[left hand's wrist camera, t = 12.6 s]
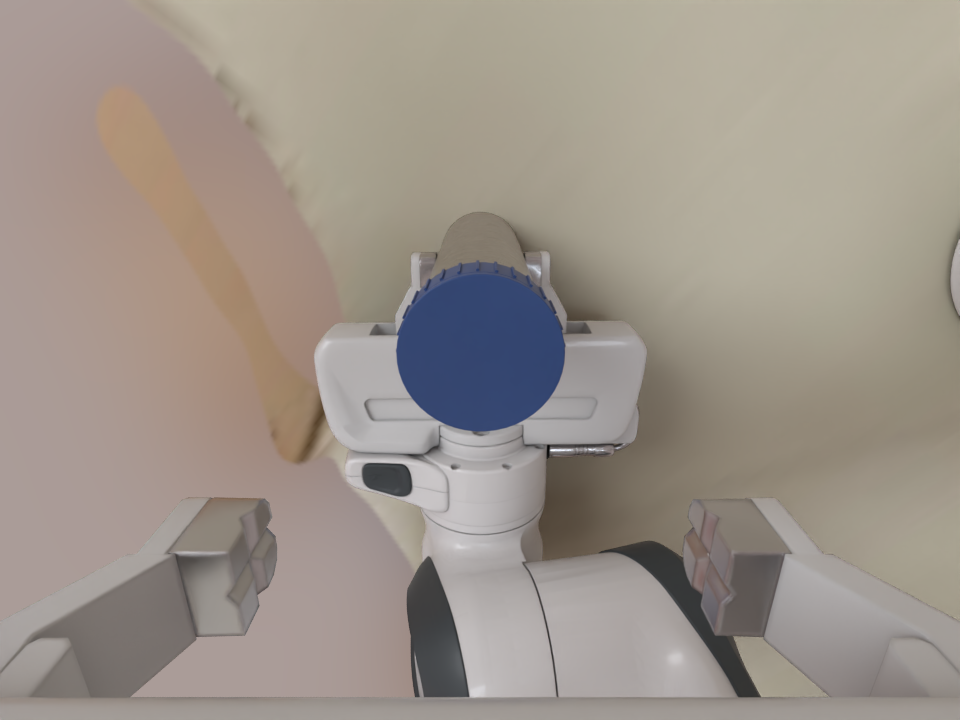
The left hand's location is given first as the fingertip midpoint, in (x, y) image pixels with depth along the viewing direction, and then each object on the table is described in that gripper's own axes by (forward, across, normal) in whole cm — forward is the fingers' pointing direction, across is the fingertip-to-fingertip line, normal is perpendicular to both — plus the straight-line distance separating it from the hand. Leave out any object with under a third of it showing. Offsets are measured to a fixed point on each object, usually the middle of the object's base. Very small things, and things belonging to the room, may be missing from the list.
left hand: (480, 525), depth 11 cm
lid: (+9, 0, 0) cm, 9 cm away
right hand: (+24, 0, -1) cm, 24 cm away
